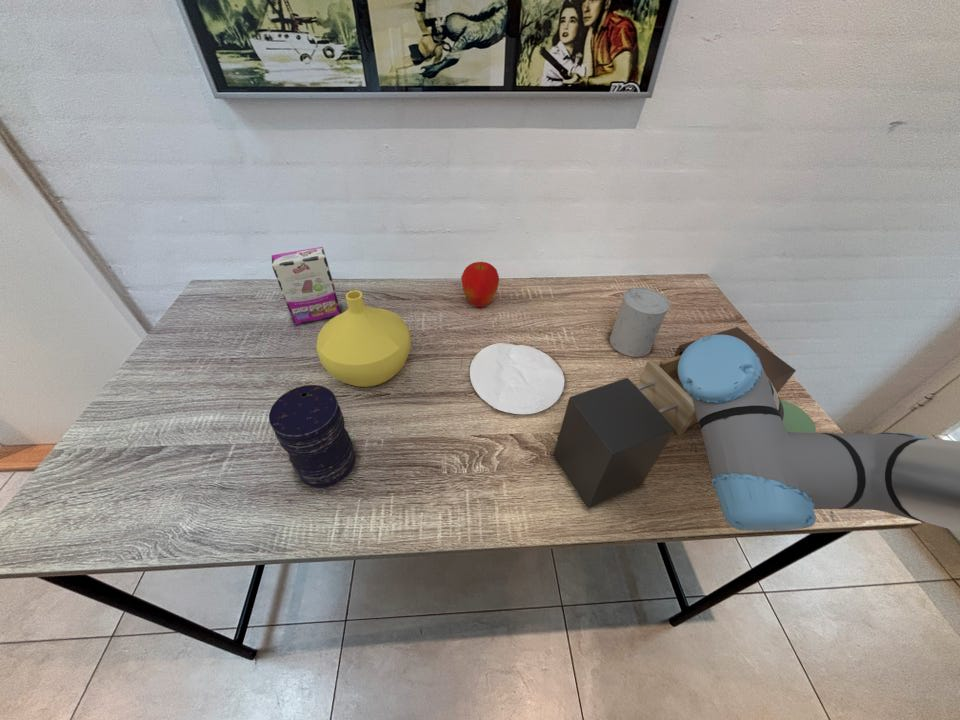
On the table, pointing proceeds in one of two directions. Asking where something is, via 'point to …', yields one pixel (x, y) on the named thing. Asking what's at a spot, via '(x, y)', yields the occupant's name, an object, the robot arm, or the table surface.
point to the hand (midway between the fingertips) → (773, 443)
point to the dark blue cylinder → (313, 435)
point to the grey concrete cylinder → (638, 321)
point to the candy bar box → (306, 285)
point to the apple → (480, 283)
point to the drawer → (668, 393)
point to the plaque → (516, 378)
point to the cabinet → (769, 361)
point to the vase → (363, 344)
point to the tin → (796, 419)
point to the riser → (610, 440)
